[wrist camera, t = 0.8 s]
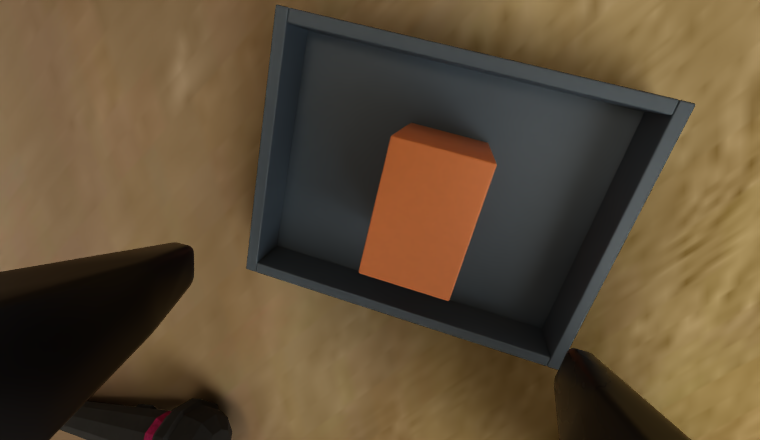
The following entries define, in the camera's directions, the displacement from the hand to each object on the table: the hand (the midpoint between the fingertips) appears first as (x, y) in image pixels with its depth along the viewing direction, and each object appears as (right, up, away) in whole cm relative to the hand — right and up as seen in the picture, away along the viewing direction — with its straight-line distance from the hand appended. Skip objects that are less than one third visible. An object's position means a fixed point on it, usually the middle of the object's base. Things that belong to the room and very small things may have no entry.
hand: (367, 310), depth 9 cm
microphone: (-19, -13, +23) cm, 32 cm away
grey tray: (+3, +4, +12) cm, 13 cm away
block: (+3, +4, +11) cm, 12 cm away
